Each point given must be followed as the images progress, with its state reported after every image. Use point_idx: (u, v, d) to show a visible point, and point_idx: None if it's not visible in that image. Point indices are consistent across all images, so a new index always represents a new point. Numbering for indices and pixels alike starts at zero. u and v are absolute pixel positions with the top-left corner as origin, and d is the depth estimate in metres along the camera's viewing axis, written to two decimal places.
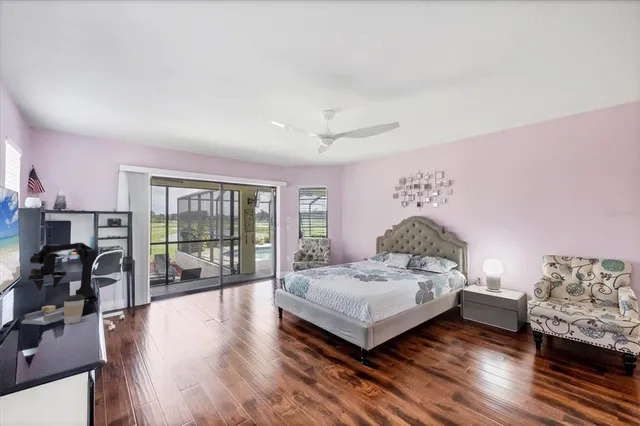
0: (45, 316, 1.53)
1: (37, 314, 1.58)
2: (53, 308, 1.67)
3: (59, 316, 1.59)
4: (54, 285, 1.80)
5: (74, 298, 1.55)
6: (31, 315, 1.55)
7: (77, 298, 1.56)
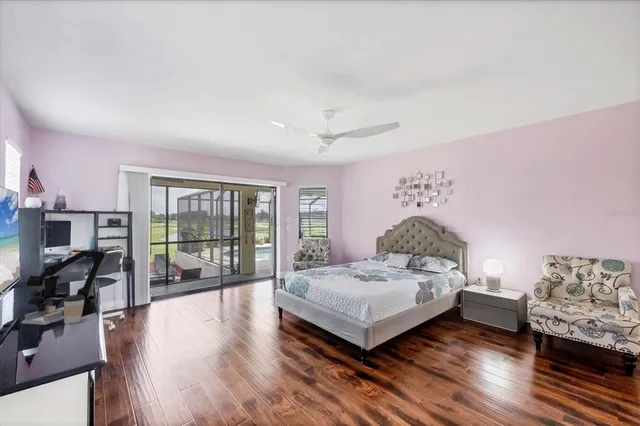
0: (45, 316, 1.53)
1: (37, 314, 1.58)
2: (53, 308, 1.67)
3: (59, 316, 1.59)
4: None
5: (74, 298, 1.55)
6: (31, 315, 1.55)
7: (77, 298, 1.56)
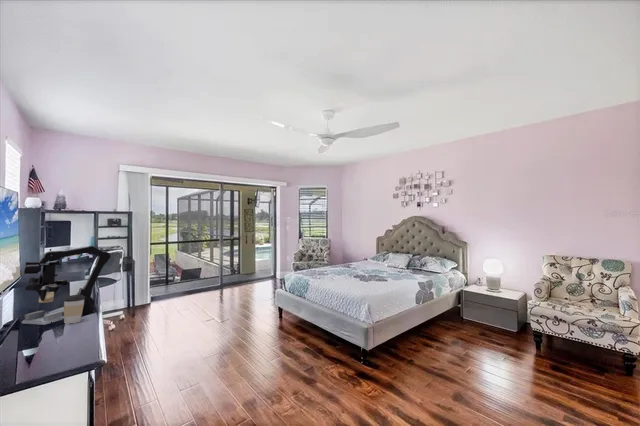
0: (45, 316, 1.53)
1: (37, 314, 1.58)
2: (51, 294, 1.61)
3: (59, 316, 1.59)
4: None
5: (74, 298, 1.55)
6: (31, 315, 1.55)
7: (77, 298, 1.56)
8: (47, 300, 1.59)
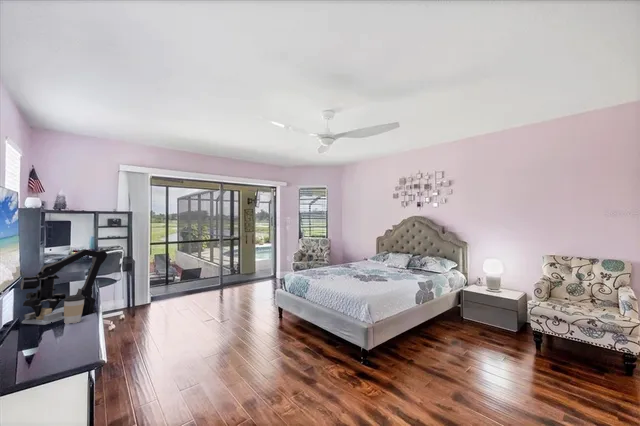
0: (45, 316, 1.53)
1: None
2: (49, 310, 1.58)
3: (59, 316, 1.59)
4: None
5: (74, 298, 1.55)
6: (31, 315, 1.55)
7: (77, 298, 1.56)
8: None
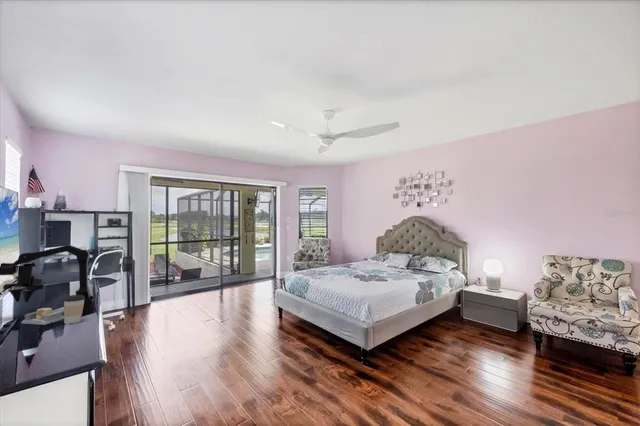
0: (45, 316, 1.53)
1: None
2: (49, 310, 1.58)
3: (59, 316, 1.59)
4: None
5: (74, 298, 1.55)
6: (31, 315, 1.55)
7: (77, 298, 1.56)
8: None
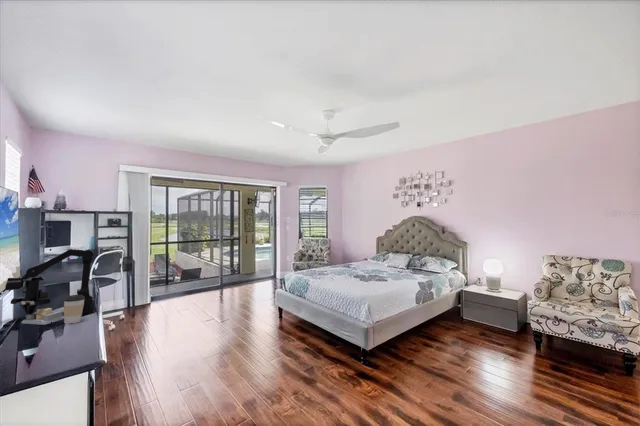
0: (45, 316, 1.53)
1: None
2: (49, 310, 1.58)
3: (59, 316, 1.59)
4: None
5: (74, 298, 1.55)
6: (32, 315, 1.55)
7: (77, 298, 1.56)
8: None
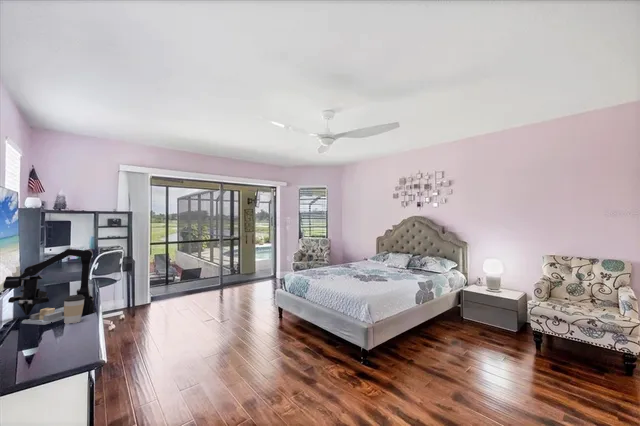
0: (45, 316, 1.53)
1: None
2: (52, 311, 1.58)
3: (59, 316, 1.59)
4: None
5: (74, 298, 1.55)
6: (37, 315, 1.55)
7: (77, 298, 1.56)
8: None
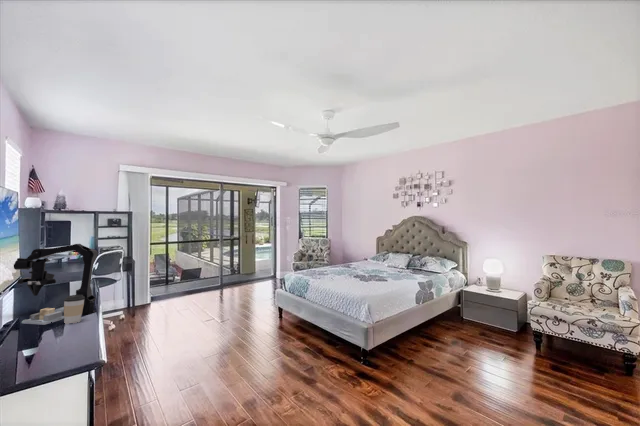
0: (45, 316, 1.53)
1: None
2: (52, 311, 1.58)
3: (59, 316, 1.59)
4: None
5: (74, 298, 1.55)
6: (37, 315, 1.55)
7: (77, 298, 1.56)
8: None
